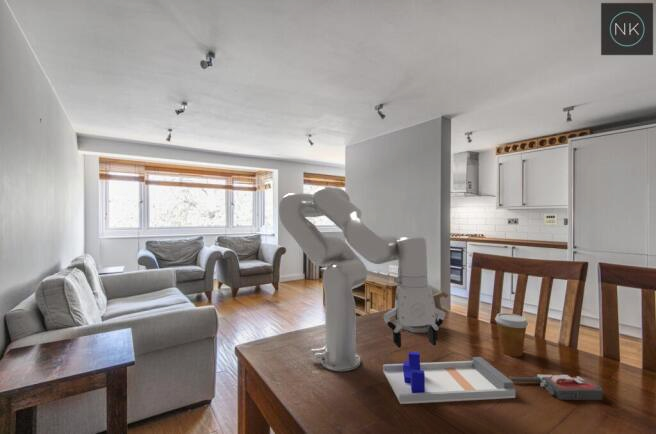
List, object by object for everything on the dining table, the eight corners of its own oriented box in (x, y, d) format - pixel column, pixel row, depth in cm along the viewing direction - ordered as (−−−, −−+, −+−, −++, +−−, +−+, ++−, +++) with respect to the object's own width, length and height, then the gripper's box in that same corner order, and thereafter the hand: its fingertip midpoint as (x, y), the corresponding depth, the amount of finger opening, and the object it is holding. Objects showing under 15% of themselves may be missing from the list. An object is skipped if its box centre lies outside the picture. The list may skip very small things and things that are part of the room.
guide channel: (400, 403, 72) (400, 389, 72) (383, 371, 88) (383, 359, 88) (515, 397, 75) (515, 383, 75) (478, 367, 90) (478, 355, 90)
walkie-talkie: (580, 382, 83) (508, 382, 83) (580, 366, 83) (508, 366, 83) (609, 402, 74) (529, 401, 74) (609, 384, 74) (529, 383, 74)
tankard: (403, 332, 118) (403, 295, 118) (397, 321, 130) (397, 287, 131) (454, 333, 117) (454, 295, 117) (443, 322, 130) (443, 288, 130)
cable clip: (403, 371, 87) (403, 351, 87) (419, 373, 86) (419, 352, 86) (406, 395, 75) (406, 371, 75) (424, 397, 74) (424, 373, 74)
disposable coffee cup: (525, 349, 103) (525, 314, 103) (530, 361, 94) (530, 323, 94) (493, 344, 107) (493, 311, 107) (496, 355, 98) (496, 319, 98)
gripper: (386, 285, 76) (388, 352, 76) (450, 282, 78) (452, 348, 77) (378, 280, 84) (380, 341, 83) (437, 277, 85) (439, 337, 85)
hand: (415, 344), depth 80 cm, fingers open, 9 cm apart
